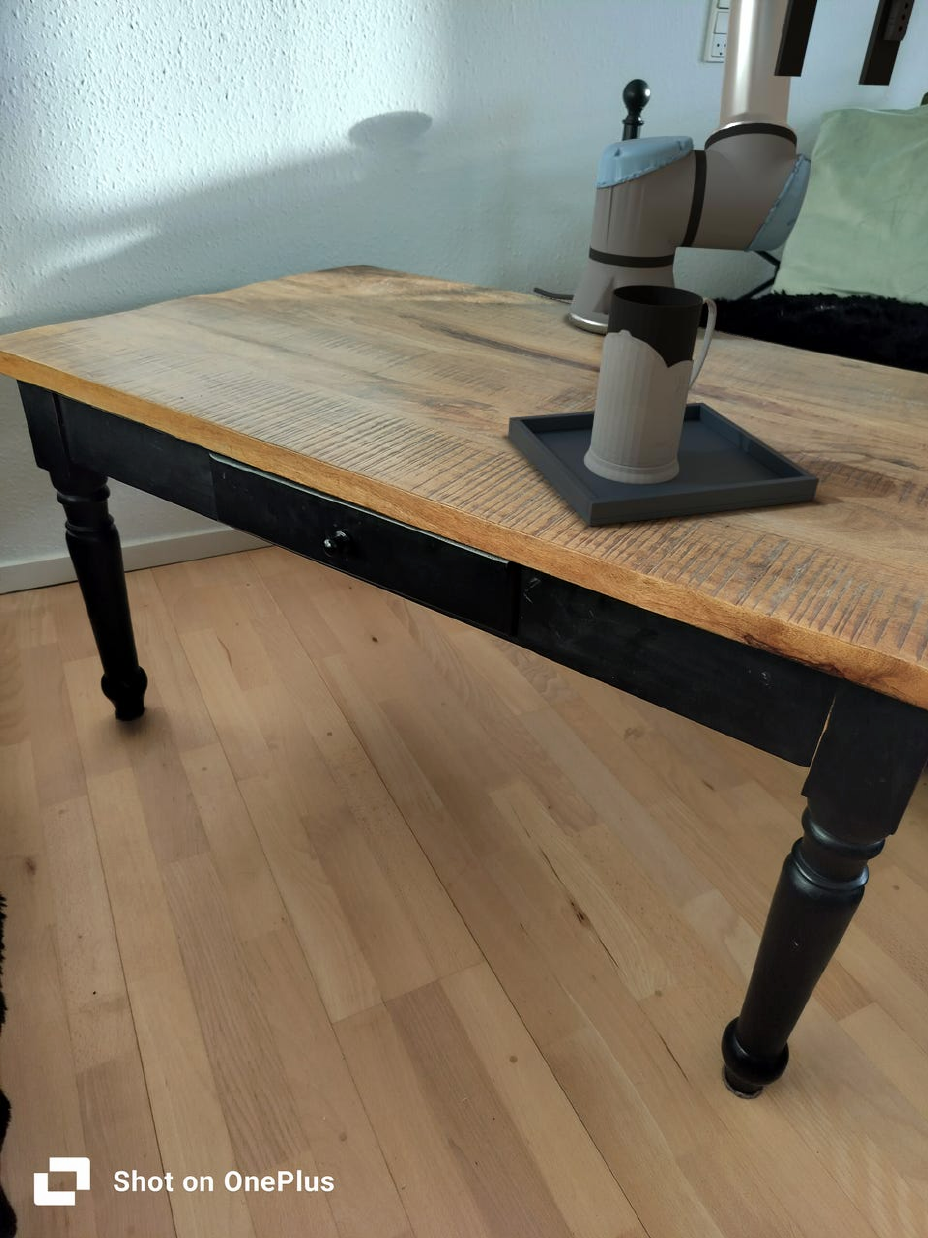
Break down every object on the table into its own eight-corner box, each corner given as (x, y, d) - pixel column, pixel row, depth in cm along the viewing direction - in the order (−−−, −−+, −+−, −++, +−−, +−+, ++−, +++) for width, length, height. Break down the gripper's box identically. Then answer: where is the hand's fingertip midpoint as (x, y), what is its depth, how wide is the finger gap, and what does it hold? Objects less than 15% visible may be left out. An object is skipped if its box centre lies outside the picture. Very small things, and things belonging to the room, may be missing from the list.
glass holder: (564, 461, 80) (582, 292, 71) (653, 425, 88) (679, 270, 80) (642, 493, 75) (671, 314, 66) (728, 452, 83) (764, 289, 75)
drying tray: (507, 437, 86) (509, 417, 85) (699, 421, 92) (702, 401, 90) (589, 526, 70) (592, 503, 69) (813, 500, 76) (819, 478, 75)
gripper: (773, -200, 80) (726, 72, 92) (973, -270, 60) (879, 88, 72) (843, -192, 82) (787, 73, 94) (1059, -256, 62) (953, 90, 74)
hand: (827, 80), depth 83 cm, fingers open, 13 cm apart
